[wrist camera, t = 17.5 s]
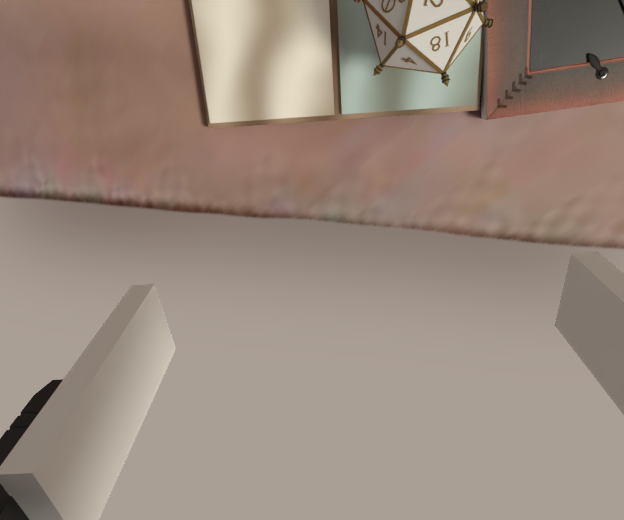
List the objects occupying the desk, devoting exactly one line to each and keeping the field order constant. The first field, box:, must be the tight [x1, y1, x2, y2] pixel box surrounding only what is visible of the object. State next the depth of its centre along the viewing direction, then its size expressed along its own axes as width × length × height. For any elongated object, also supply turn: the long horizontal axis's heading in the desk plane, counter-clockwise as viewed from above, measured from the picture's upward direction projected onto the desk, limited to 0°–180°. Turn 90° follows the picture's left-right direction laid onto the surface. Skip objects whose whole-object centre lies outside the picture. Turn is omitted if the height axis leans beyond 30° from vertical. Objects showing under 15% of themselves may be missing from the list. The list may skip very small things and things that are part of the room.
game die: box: [354, 0, 496, 87], centre depth 27 cm, size 9×8×10 cm
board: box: [189, 0, 484, 128], centre depth 32 cm, size 22×13×1 cm, turn 94°
